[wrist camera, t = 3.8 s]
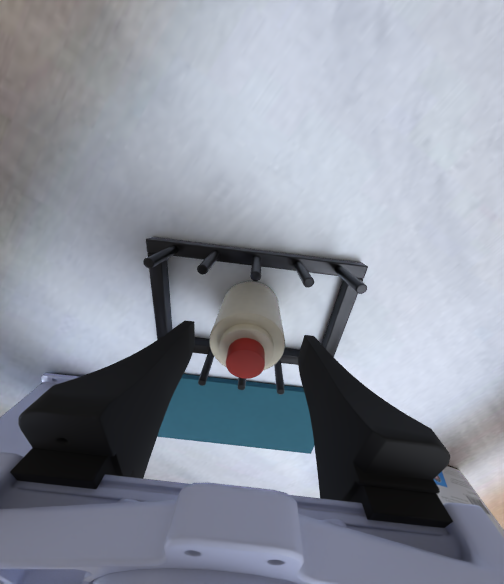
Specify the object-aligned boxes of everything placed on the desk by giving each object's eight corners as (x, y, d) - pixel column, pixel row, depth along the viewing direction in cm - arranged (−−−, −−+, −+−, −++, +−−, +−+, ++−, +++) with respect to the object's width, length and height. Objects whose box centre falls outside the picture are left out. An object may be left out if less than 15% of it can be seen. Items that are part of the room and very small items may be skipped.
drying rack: (163, 341, 19) (136, 380, 15) (152, 236, 15) (110, 250, 11) (326, 360, 19) (344, 404, 15) (362, 262, 15) (400, 285, 11)
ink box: (384, 470, 27) (507, 736, 13) (411, 452, 25) (586, 744, 11) (432, 485, 28) (589, 743, 15) (461, 469, 26) (674, 752, 13)
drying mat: (157, 431, 25) (154, 436, 25) (147, 369, 20) (144, 374, 20) (309, 448, 25) (310, 453, 25) (334, 391, 21) (336, 396, 20)
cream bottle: (221, 326, 18) (202, 389, 12) (224, 277, 16) (202, 324, 10) (273, 332, 18) (280, 398, 12) (283, 284, 16) (296, 335, 10)
